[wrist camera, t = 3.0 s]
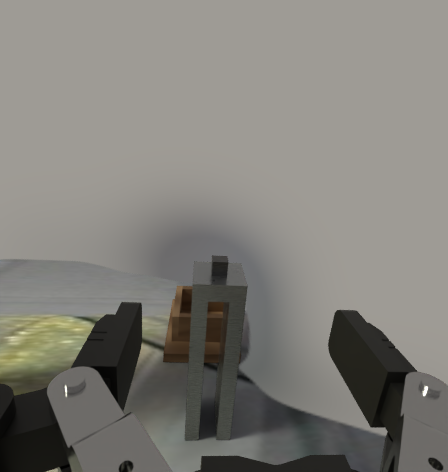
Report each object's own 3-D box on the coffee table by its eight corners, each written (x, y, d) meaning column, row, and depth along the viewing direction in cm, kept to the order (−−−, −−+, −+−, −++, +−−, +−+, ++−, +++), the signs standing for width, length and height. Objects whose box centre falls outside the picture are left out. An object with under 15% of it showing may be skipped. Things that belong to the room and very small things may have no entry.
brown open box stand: (239, 363, 37) (243, 329, 35) (163, 361, 36) (163, 327, 34) (231, 308, 48) (233, 280, 47) (172, 306, 47) (173, 278, 46)
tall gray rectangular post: (229, 439, 28) (249, 271, 22) (184, 440, 27) (193, 268, 22) (226, 402, 31) (242, 250, 26) (186, 402, 31) (194, 248, 26)
